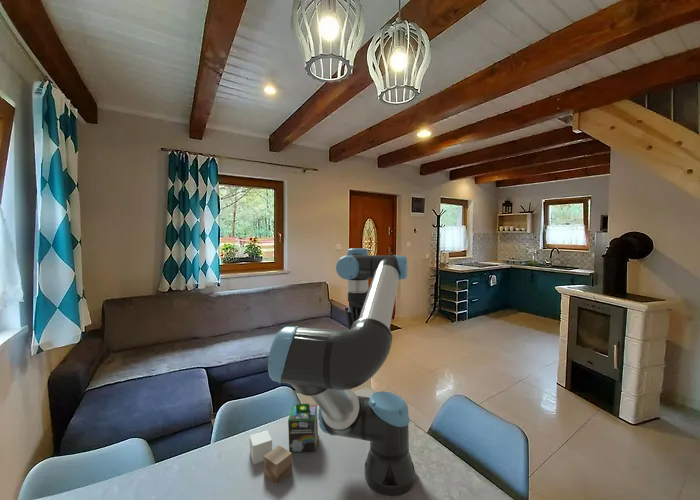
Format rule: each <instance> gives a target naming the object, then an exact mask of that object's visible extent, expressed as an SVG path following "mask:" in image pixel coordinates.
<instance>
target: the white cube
mask: <svg viewBox="0 0 700 500" xmlns="http://www.w3.org/2000/svg"><path fill="white" fill-rule="evenodd" d="M272 450H273V440H272V436H271V435H270V432H269V430H268V429H266V430H264V431H260V432H257V433H253V434H250V435H249V454H250V457H251V461H252V464H253V465H256V464H260V463H261V462H264V456H265V455H266V454H267V453H269V452H270V451H272Z"/></svg>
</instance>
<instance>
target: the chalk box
mask: <svg viewBox="0 0 700 500" xmlns="http://www.w3.org/2000/svg"><path fill="white" fill-rule="evenodd" d="M290 409H291V410H290V413H289V416H288V421H287V424H288V427H287V429H288V451H289V452H291V453H303V452H304V453H306V452H307V453H309V452H311V453H312V452H316V449H317V443H318V437H319V431H318V430H319V427H318V425H319V422H318V404H317V403H315V404H310V403H296V404H295V405H292V407H291V408H290Z"/></svg>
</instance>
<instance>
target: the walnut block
mask: <svg viewBox="0 0 700 500" xmlns="http://www.w3.org/2000/svg"><path fill="white" fill-rule="evenodd" d="M292 473H293V452H289V449H286V448H285V447H283V446H281V445H277V446H276V447H275V448H272V451H270V452H269V453H267V454H266V455H265V456H264V461H263V476H264V477H265V478H267V479H268V480H270V481H271V482H273V483H274V484H276V485H279V483H281V482H282V481H283V480H284V479H285V478H287V477H288V476H289V475H290V474H292Z"/></svg>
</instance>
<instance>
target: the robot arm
mask: <svg viewBox="0 0 700 500" xmlns="http://www.w3.org/2000/svg"><path fill="white" fill-rule="evenodd" d="M408 266H409V265H408V258H407V257H406V256H405V255H398V254H397V255H396V254H390V255H389V254H388V255H385V254H383V255H380V254H379V255H377V254H375V255H374V254H371V255H370V254H369V250H368V249H367V248H364V247H363V248H354V247H353V248H348V249H347V254H346V255H344V256H341V257H340V258H339V259H338V260H337V262H336V264H335V270H336V273H337V275H338V277H340V278H341V279H342V280H347V291H348V292H347V302H348V303H349V304H348V306H347V307H344V310H345V314H346V319H347V325H348V329H343V330H342V329H330V328H329V329H327V328H318V327H317V328H315V327H304V326H303V327H299V325H296V326H284V327H283V328H281V329H280V330H279V331H277V333H276V335H275V337H274V338H273V340H272V343H271V346H270V348H269V349H270V350H269V354H268V362H267V372H268V376H269V378H270V379H271V380H272V381H273V382H276V383H278V384H282V383H284V384H289V385H291V387H293V388H294V390H295V391H296V392H298V393H299V394H301V395H303V396H306V397H311V399H312V400H313V401H314V402H315V404H317V407H318V412H317V420H318V421H319V422H318V425H319V428H320V429H321V431H322V432H323V433H325V434H328V435H330V436H339V437H344V438H348V439H349V438H350V439H355V440H362V441H367V442H369V446H370V447H369V450H368V454H367V457H366V460H365V464H364V478H365V481H366V482H367V484H368V486H369V487H370V488H371V489H373V490H374V491H376V492H378V493H379V494H382V495H387V496H399V495H403V494H405V493H407V492H409V490H411V489H412V488H413V486H414V484H415V480H416V470H415V465H414V462H413V459H412V456H411V453H410V438H409V437H410V434H409V433H410V431H409V428H410V427H409V425H410V416H409V414H410V413H409V405H408V403H407V402H406V401H405V399H403V398H402V397H401V396H399V395H398V394H396V393H393V392H390V391H384V390H381V391H375V392H373V393H372V394H371V395H370V397H368V396H361V395H356V393H355V391H353V389H355V388H357V387H359V386H362V385H363V384H365V383H366V382H367V381H369V380H370V379H371V378H373V376H375V375H376V373H378V372H379V370H380V369H381V368H382V367H383V365H384V363H385V362H386V360H387V358H388V357H389V354H390V351H391V347H392V342H393V333H392V331H391V329H390V328H391V323H392V318H393V314H394V313H393V311H394V307H395V301H396V297H397V291H398V287H399V281H401V280H405V279H407V278H408V270H409V269H408ZM369 279H371V282H370V285H369Z"/></svg>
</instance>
